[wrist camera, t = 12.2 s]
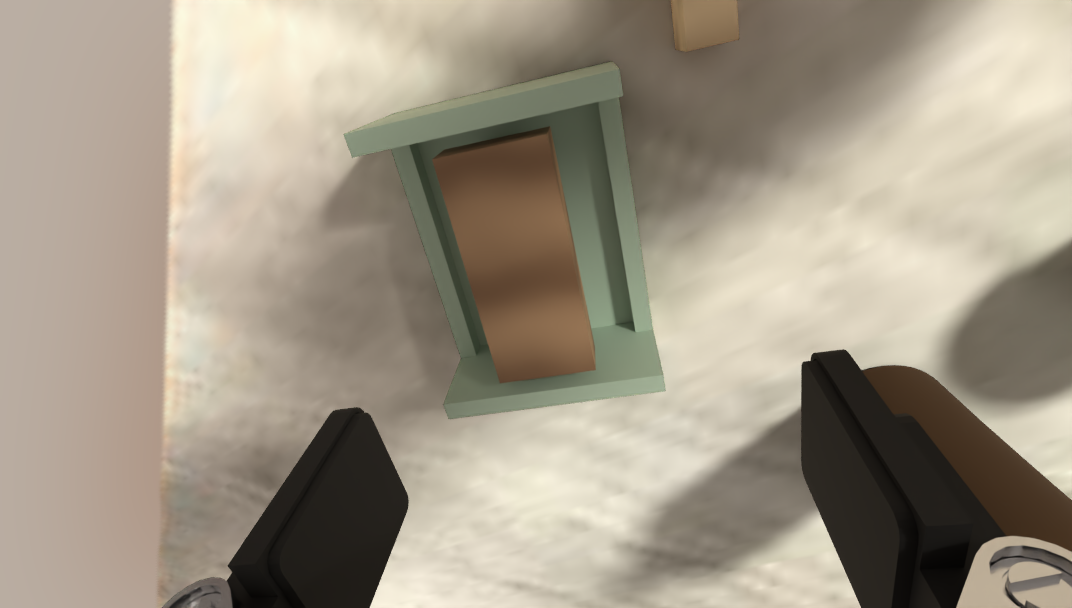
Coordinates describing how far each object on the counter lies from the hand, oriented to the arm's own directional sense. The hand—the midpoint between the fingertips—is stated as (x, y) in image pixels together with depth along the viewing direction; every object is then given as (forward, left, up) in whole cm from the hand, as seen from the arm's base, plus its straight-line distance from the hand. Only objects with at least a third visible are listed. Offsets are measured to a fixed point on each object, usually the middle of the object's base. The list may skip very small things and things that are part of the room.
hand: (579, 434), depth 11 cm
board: (+3, -4, -21) cm, 21 cm away
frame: (+3, -4, -26) cm, 27 cm away
